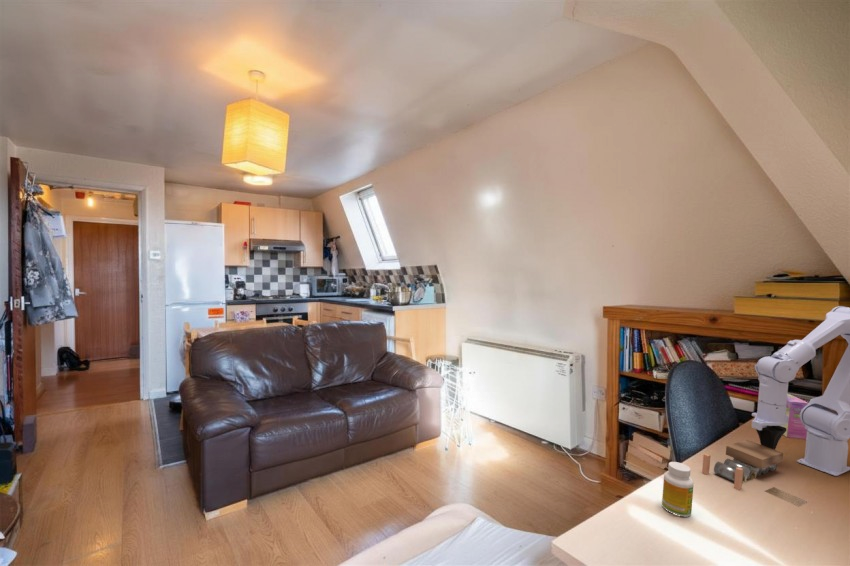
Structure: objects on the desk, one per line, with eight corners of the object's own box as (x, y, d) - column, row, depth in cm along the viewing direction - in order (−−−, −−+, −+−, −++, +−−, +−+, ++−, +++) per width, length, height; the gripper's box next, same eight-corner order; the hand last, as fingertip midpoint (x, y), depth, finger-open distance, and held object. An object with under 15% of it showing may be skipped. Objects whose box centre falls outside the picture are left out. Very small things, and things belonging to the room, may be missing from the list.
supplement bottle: (691, 521, 82) (695, 475, 81) (661, 511, 84) (664, 467, 84) (690, 508, 86) (694, 464, 86) (662, 499, 89) (665, 457, 89)
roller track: (752, 460, 109) (753, 449, 109) (830, 492, 95) (832, 479, 95) (712, 474, 101) (713, 462, 101) (791, 510, 87) (792, 496, 86)
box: (807, 439, 125) (811, 403, 124) (786, 437, 126) (790, 401, 125) (784, 426, 135) (787, 392, 134) (765, 424, 136) (768, 391, 135)
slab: (746, 448, 110) (746, 439, 110) (782, 461, 102) (782, 452, 102) (725, 454, 105) (726, 445, 105) (761, 469, 98) (762, 459, 98)
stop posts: (704, 472, 102) (706, 453, 102) (741, 489, 94) (743, 469, 94) (702, 473, 101) (703, 454, 101) (738, 490, 94) (740, 470, 94)
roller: (723, 471, 103) (724, 459, 102) (729, 468, 104) (730, 457, 104) (745, 480, 98) (746, 469, 98) (752, 478, 99) (753, 466, 99)
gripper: (768, 394, 113) (764, 440, 114) (740, 400, 107) (735, 449, 107) (799, 402, 107) (795, 451, 107) (771, 409, 100) (767, 461, 101)
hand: (767, 451), depth 107 cm, fingers closed
